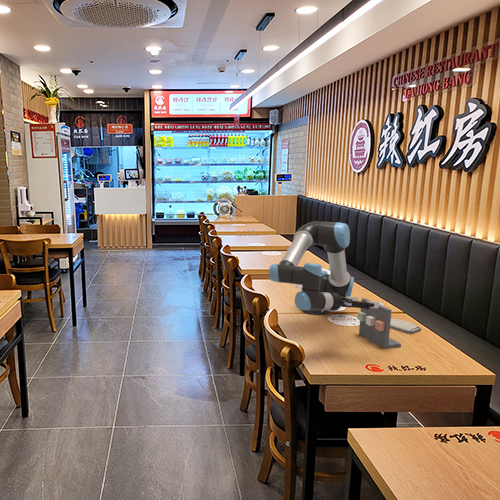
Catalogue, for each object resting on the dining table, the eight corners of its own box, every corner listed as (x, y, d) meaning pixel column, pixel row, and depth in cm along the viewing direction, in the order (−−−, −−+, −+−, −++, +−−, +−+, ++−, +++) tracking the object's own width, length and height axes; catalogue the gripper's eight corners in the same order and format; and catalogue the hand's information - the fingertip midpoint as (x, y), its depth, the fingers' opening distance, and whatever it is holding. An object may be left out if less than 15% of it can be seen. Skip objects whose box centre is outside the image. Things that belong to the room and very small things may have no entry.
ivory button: (365, 323, 206) (366, 316, 206) (371, 322, 207) (372, 315, 207) (370, 325, 203) (370, 318, 202) (376, 325, 204) (377, 317, 203)
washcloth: (410, 335, 217) (411, 329, 217) (378, 326, 230) (379, 320, 230) (422, 331, 225) (422, 325, 225) (390, 322, 238) (391, 316, 238)
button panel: (358, 333, 216) (361, 298, 213) (374, 332, 219) (377, 297, 216) (384, 348, 197) (387, 310, 195) (400, 346, 200) (404, 308, 198)
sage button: (357, 319, 213) (357, 311, 212) (363, 318, 214) (363, 311, 213) (361, 321, 209) (362, 314, 209) (367, 320, 211) (368, 313, 210)
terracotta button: (374, 328, 200) (375, 320, 199) (381, 327, 201) (381, 320, 200) (379, 330, 196) (380, 323, 196) (386, 330, 198) (386, 322, 197)
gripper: (311, 305, 198) (348, 305, 208) (346, 315, 176) (386, 316, 185) (313, 288, 198) (350, 290, 208) (348, 297, 176) (388, 298, 185)
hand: (367, 302), depth 196 cm, fingers open, 13 cm apart
